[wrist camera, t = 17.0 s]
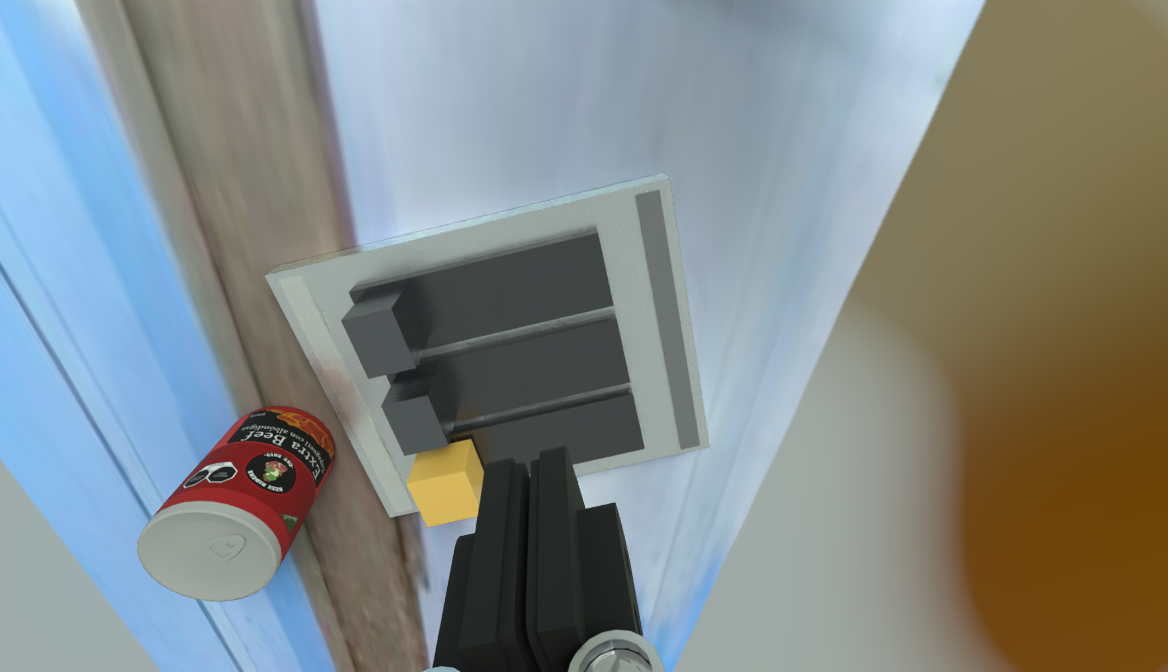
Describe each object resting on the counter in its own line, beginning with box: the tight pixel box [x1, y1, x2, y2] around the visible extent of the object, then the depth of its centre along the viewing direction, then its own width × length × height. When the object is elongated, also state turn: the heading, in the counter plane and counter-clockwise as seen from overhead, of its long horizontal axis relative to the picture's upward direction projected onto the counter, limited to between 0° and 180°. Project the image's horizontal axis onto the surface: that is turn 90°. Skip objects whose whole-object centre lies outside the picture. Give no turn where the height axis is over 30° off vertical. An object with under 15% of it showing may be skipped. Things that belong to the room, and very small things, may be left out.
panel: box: [265, 173, 710, 518], centre depth 37 cm, size 26×21×6 cm
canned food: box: [137, 406, 335, 601], centre depth 37 cm, size 8×8×11 cm
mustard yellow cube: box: [407, 439, 484, 527], centre depth 39 cm, size 4×4×4 cm
